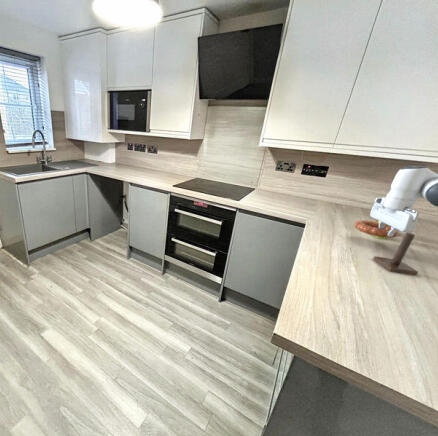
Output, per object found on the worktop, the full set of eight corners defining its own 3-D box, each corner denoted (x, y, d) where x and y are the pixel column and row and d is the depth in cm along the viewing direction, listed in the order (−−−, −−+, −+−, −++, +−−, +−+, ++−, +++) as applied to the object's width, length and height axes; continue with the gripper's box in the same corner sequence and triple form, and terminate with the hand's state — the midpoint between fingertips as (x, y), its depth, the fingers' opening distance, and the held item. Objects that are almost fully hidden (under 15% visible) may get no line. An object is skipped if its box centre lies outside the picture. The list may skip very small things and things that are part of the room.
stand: (397, 262, 97) (413, 230, 91) (416, 275, 88) (435, 240, 83) (372, 259, 98) (387, 227, 93) (389, 271, 90) (406, 237, 84)
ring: (380, 228, 117) (383, 221, 116) (405, 240, 103) (409, 233, 102) (346, 224, 119) (349, 218, 118) (367, 236, 105) (370, 229, 104)
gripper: (429, 212, 90) (412, 244, 95) (388, 198, 109) (376, 226, 114) (410, 210, 91) (395, 242, 96) (373, 197, 110) (362, 224, 115)
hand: (384, 233), depth 105 cm, fingers closed on ring, 3 cm apart
